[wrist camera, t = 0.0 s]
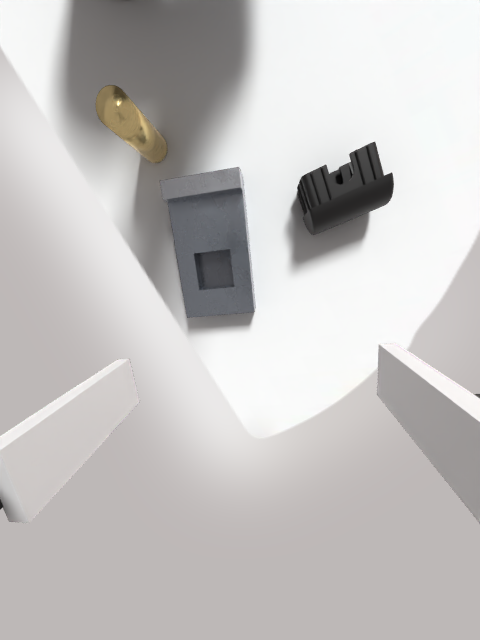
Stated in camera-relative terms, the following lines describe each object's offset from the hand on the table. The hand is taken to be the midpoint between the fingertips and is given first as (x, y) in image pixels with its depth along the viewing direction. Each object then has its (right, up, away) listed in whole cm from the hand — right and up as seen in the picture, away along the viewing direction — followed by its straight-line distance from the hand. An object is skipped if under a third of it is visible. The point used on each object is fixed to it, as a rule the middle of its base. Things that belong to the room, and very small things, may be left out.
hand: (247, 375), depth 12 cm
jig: (-4, +14, +26) cm, 30 cm away
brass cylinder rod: (-13, +29, +23) cm, 40 cm away
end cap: (+14, +21, +22) cm, 33 cm away
